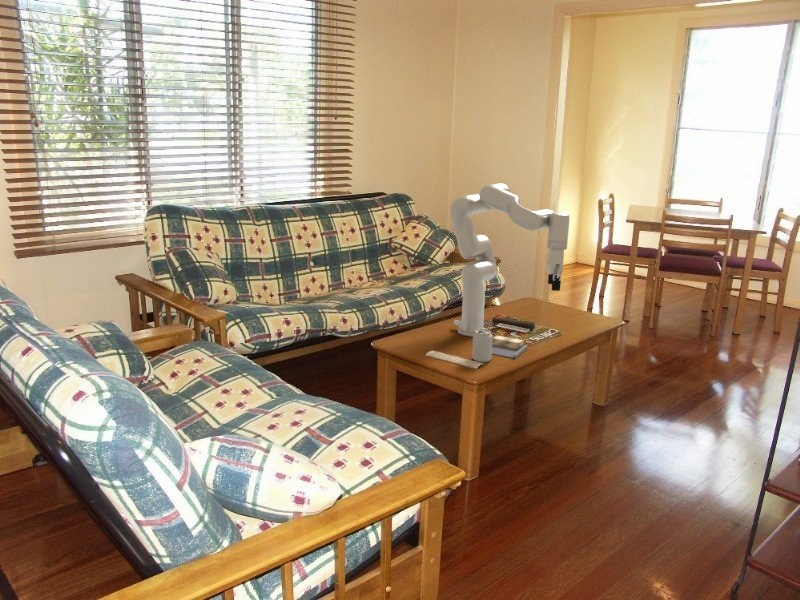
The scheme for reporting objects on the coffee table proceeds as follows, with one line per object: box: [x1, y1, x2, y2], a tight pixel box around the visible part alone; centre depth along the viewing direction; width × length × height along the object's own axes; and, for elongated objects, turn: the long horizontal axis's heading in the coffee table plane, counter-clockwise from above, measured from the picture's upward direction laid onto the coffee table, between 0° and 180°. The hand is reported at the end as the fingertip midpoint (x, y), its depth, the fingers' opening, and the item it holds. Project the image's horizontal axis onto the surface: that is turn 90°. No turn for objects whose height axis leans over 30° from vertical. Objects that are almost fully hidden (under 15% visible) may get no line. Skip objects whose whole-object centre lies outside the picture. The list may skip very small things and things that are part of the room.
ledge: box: [492, 335, 524, 350], centre depth 294 cm, size 12×4×3 cm, turn 61°
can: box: [471, 328, 493, 364], centre depth 278 cm, size 8×8×12 cm
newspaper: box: [425, 350, 485, 370], centre depth 279 cm, size 24×7×2 cm, turn 54°
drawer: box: [492, 338, 529, 359], centre depth 290 cm, size 16×14×2 cm
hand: (553, 287), depth 280 cm, fingers open, 9 cm apart
